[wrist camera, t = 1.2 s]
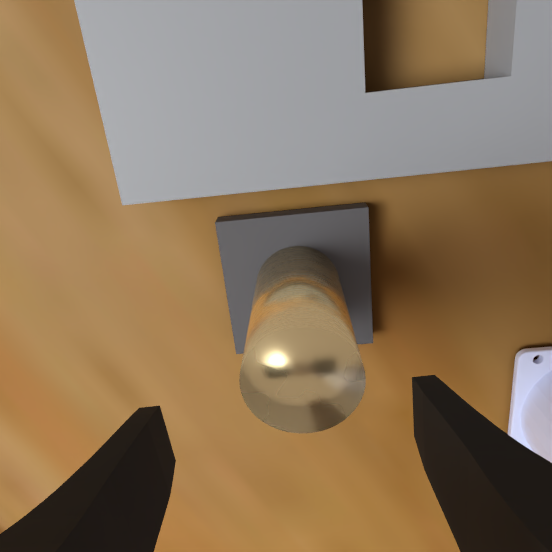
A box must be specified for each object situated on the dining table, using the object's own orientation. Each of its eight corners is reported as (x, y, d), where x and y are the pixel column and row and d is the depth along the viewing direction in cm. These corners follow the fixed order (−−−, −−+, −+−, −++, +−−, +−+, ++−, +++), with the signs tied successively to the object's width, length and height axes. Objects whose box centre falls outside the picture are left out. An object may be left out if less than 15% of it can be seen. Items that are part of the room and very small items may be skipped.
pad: (365, 202, 21) (368, 207, 20) (369, 333, 24) (373, 343, 23) (218, 217, 22) (215, 222, 21) (238, 344, 24) (236, 353, 23)
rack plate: (625, -207, 16) (689, -265, 13) (578, 147, 20) (620, 154, 18) (71, -122, 17) (34, -160, 15) (140, 193, 21) (120, 206, 19)
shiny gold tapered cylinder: (337, 242, 21) (363, 321, 14) (341, 319, 22) (367, 428, 15) (251, 250, 21) (231, 332, 14) (261, 325, 23) (248, 437, 15)
